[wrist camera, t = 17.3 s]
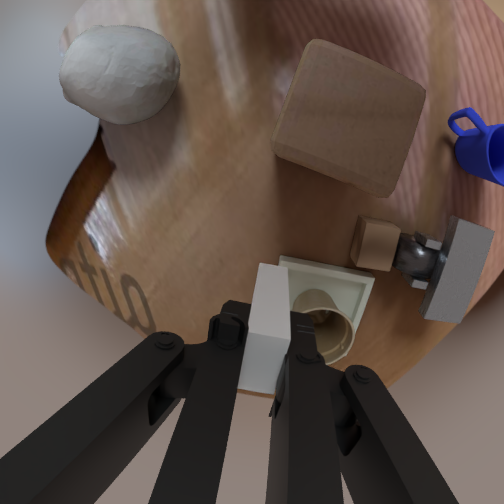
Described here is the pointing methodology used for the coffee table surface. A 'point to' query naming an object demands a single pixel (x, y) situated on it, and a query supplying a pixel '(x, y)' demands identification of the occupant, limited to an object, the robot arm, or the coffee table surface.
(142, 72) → the skull
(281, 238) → the coffee table surface
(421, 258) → the caster wheel
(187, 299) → the coffee table surface
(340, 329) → the flower pot
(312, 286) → the tray
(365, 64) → the wooden block
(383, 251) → the block
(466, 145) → the mug
